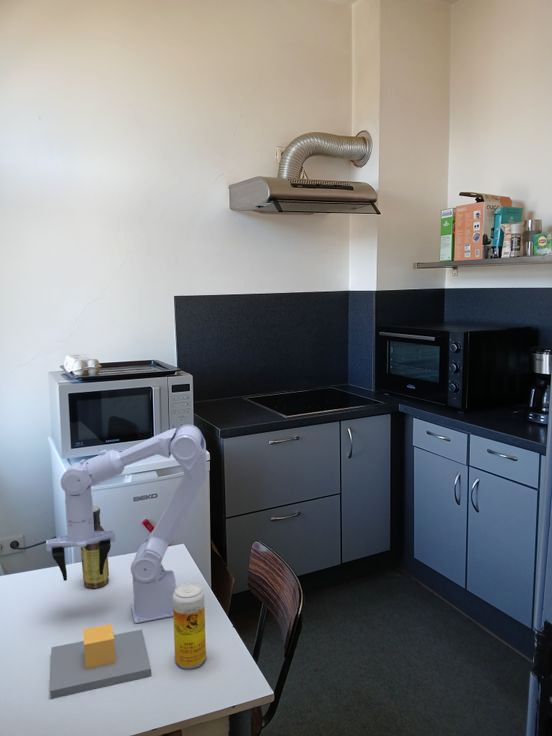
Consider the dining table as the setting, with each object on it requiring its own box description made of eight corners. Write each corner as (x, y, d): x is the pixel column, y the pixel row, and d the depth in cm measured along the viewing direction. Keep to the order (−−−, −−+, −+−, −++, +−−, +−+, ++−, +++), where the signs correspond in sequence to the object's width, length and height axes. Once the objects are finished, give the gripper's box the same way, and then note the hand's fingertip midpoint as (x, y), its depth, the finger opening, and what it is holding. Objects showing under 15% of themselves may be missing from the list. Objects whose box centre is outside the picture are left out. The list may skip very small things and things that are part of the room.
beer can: (180, 674, 114) (178, 600, 112) (171, 656, 120) (168, 586, 118) (210, 664, 117) (208, 592, 115) (199, 648, 123) (197, 579, 120)
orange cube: (113, 646, 121) (111, 623, 120) (115, 662, 116) (114, 638, 115) (84, 652, 119) (83, 629, 118) (85, 669, 114) (84, 644, 113)
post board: (142, 635, 127) (141, 614, 126) (151, 675, 114) (150, 651, 113) (51, 654, 121) (50, 631, 120) (50, 698, 108) (48, 673, 107)
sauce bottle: (90, 576, 153) (85, 502, 151) (113, 578, 152) (109, 503, 150) (78, 589, 147) (73, 512, 144) (102, 591, 146) (98, 513, 143)
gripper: (44, 529, 126) (48, 589, 128) (115, 519, 131) (118, 578, 133) (45, 517, 133) (49, 575, 135) (112, 508, 138) (115, 564, 139)
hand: (83, 575), depth 134 cm, fingers open, 7 cm apart
